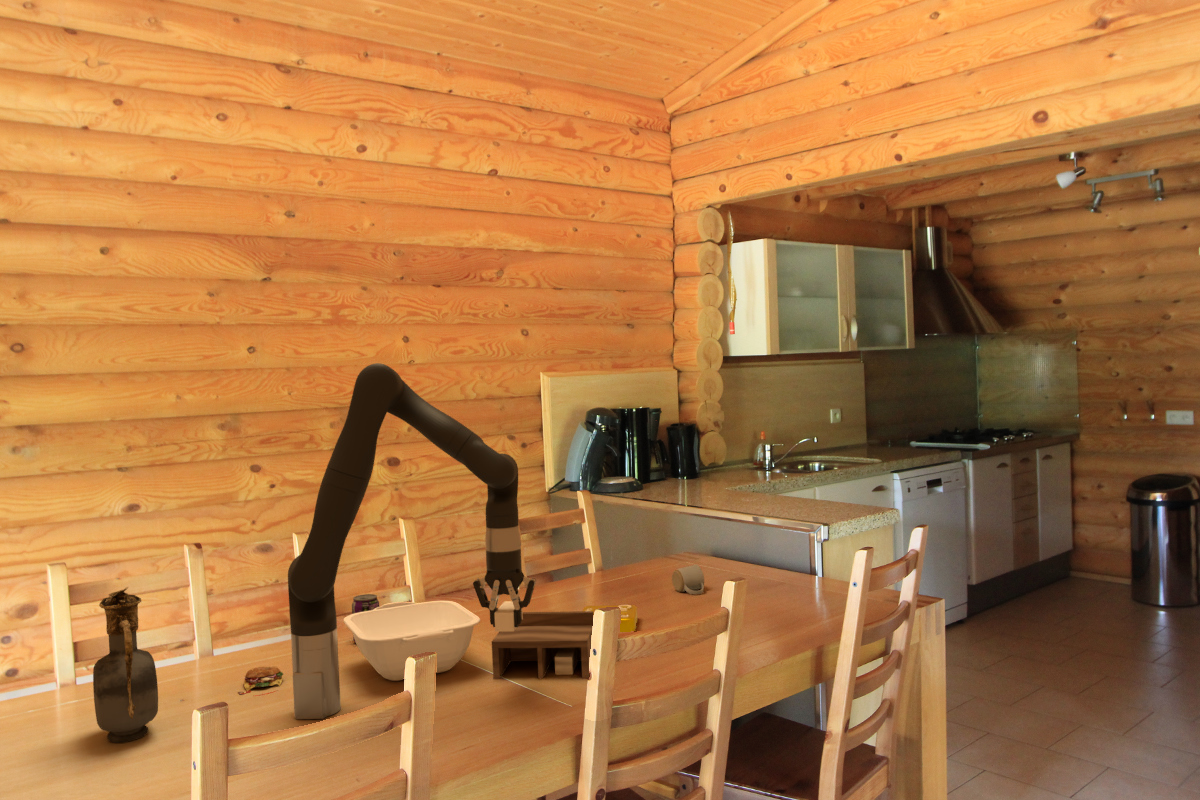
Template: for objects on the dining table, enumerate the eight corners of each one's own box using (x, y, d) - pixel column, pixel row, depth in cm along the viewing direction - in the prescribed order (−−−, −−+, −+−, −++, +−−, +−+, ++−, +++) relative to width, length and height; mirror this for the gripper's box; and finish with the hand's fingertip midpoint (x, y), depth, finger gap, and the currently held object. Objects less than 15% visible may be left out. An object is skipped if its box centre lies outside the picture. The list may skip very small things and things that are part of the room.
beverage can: (373, 645, 234) (371, 600, 234) (348, 645, 236) (346, 600, 235) (385, 637, 241) (383, 593, 241) (361, 637, 243) (358, 593, 242)
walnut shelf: (588, 678, 202) (586, 627, 202) (493, 678, 204) (491, 628, 204) (595, 658, 216) (593, 611, 216) (505, 659, 218) (503, 612, 218)
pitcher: (153, 717, 188) (145, 575, 188) (165, 746, 172) (157, 592, 172) (93, 730, 182) (85, 584, 182) (101, 761, 166) (92, 601, 166)
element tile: (584, 620, 252) (584, 603, 252) (637, 619, 251) (637, 602, 251) (578, 636, 237) (578, 618, 237) (635, 635, 236) (634, 617, 236)
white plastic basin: (494, 678, 205) (491, 623, 204) (369, 703, 192) (366, 644, 192) (449, 641, 235) (447, 593, 235) (338, 661, 222) (336, 610, 222)
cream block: (513, 631, 191) (512, 612, 190) (495, 631, 191) (494, 612, 191) (522, 618, 200) (522, 601, 200) (505, 619, 201) (504, 601, 201)
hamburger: (225, 684, 210) (224, 659, 210) (288, 674, 215) (287, 649, 215) (225, 703, 197) (224, 676, 197) (292, 692, 202) (291, 665, 202)
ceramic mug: (670, 590, 282) (669, 565, 282) (693, 586, 286) (692, 562, 285) (687, 597, 273) (687, 572, 272) (710, 593, 276) (710, 569, 276)
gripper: (466, 551, 189) (469, 631, 190) (532, 549, 188) (535, 631, 188) (475, 544, 197) (478, 621, 197) (538, 543, 195) (541, 621, 196)
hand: (506, 625), depth 193 cm, fingers closed on cream block, 4 cm apart
